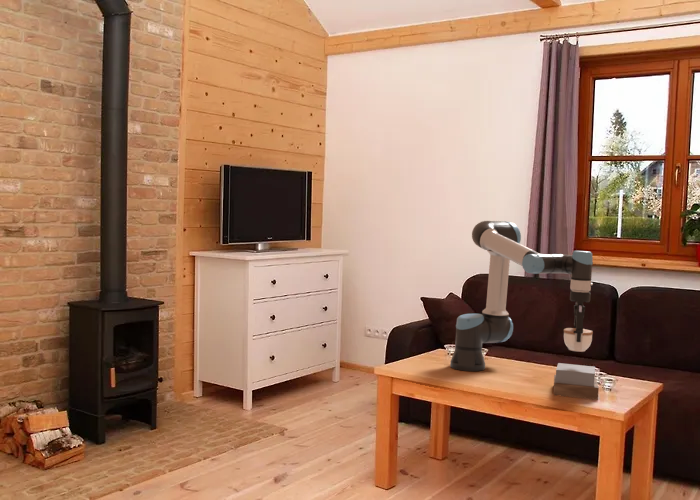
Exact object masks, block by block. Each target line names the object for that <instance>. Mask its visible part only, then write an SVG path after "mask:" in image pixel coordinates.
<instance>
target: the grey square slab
mask: <svg viewBox="0 0 700 500" xmlns="http://www.w3.org/2000/svg"><path fill="white" fill-rule="evenodd" d="M595 374H596V366H594V365H593V366H591V365H584V364H583V365H581V364H572V363H561V362H558V363H557V366H556V369H555V375H556V382H555V383H563V384H572V385H581V386H591V387H594V379H596V378H595V377H596V376H595Z"/></svg>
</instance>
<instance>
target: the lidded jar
mask: <svg viewBox="0 0 700 500" xmlns="http://www.w3.org/2000/svg"><path fill="white" fill-rule="evenodd" d="M574 331H576V328H574V327H566V328H564V329H563V340H564V344H565V346H566V347H567V349H568V351H572V352H581V353H584V352H586V350H588V349H589V347H591V344H592V341H593V334H594V332H593V330H590V329H585V328H583V335H582V351H578V350H574V343H575V333H574Z"/></svg>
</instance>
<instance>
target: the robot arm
mask: <svg viewBox="0 0 700 500" xmlns="http://www.w3.org/2000/svg"><path fill="white" fill-rule="evenodd" d="M471 239H472V241H473V243H474V244H475V245H476V246H477V247H479V248H481V249H483V250H484V251H487V252H488V253H489V255H490V257H489V269H488V280H487V293H486V304H485V308H484V309H482V311H481V313H476V312H475V313H464V314H461V315H459V316H458V317H457V318H456V324H455V341H454V342H455V346H454V347H455V348H454V351H453V353H452V357H451V359H450V362H449V365H450V368H452V369H454V370H458V371H463V372H465V371H466V372H482V371H484V370H485V369H486V361H485V359H484V355H483V354H484V353H483V344H495V343H496V344H498V343H503V342H506V341H508V339H510V338H511V337H512V335H513V332H514V323H513V320H512V319H511V317H510V316H509V315H510V314H509V312H508V311H507V309H506V308H507V296H508V287H509V286H508V284H509V273H510V263H511V262H513V263H516V264H518V265H520V266H521V267H522V269H523V270H524V272H526V273H528V274H533V275H537V274H564V275H565V274H566V275H570V277H571V278H570V286H569V288H570V294H569V300H570V301H571V302H575V305H573V315H574V322H573V328H576V331H574V333H575V343H574V350H578V351H582V335H583V329H584V318H585V311H586V306H584V303H590V301H591V288H592V287H591V286H593V285H594V284H593V282H592V274H593V263H594V262H593V261H594V260H593V252H592V251H587V250H573V251H572V254H571V255H570V254H562V253H550V254H549V253H547V254H546V253H539V252H537V251H535V250H534V249H531V248H530V247H527V246H525V245H523V244H521V241H522V235H521V231H520V228H519V226H518V225H517V224H516V223H515V222H512V221H505V220H504V221H503V220H501V221H499V220H498V221H497V220H482V221H480V222H477V224H475V226H474V227H473V229H472V232H471ZM510 261H511V262H510ZM578 351H577V352H578Z"/></svg>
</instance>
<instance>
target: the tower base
mask: <svg viewBox="0 0 700 500" xmlns="http://www.w3.org/2000/svg"><path fill="white" fill-rule="evenodd" d="M553 377H554V378H553V396H557V395H561V396H560V397H566V396H568V398H578V399H587V400H588V399H589V400H597V401H598V400H599V392H600V391H599V389H600V388H599V384H598V380H597V378H594V387H591V386H581V385H572V384H563V383H555V382H556V374H554V376H553Z"/></svg>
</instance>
